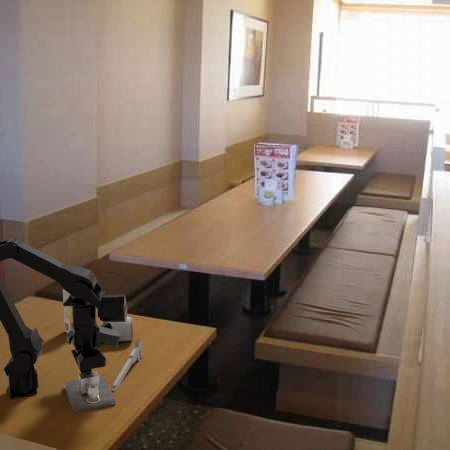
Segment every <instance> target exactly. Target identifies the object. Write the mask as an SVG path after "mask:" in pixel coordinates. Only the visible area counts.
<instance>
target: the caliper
mask: <svg viewBox="0 0 450 450" xmlns="http://www.w3.org/2000/svg"><path fill="white" fill-rule="evenodd" d="M134 345H135V346H134V347H133V349H132V351H131V352H130V354H129V357H128V359H127V360H126V362H125V363H124V365H123V366H122V369H121V371H120V372H119V374H118V375H117V377H116V378H115V380H114V382H113V384H112V387H111V388H110V389H111V391H112V392H116V390H117V389H118V388H119V387H120V385H121V383H122V382H123V380H124V378H125V377H126V375H127V373H128V371H129V370H130V368H131V367H132V365H134V364H135V362H140V361H141V359H142V358H143V346H142V345H143V344H142V341H141V339H136V341H135V342H134Z"/></svg>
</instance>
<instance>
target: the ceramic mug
mask: <svg viewBox="0 0 450 450" xmlns="http://www.w3.org/2000/svg"><path fill="white" fill-rule="evenodd" d="M110 323H111V325H112V329H113V328H114V329H115V330H117V331H118V332H119V334H120V335H121V336H120V339H119V342H129V341H132V340H133V339H134V318H133V317H131V316H127V320H126V322H110Z"/></svg>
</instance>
